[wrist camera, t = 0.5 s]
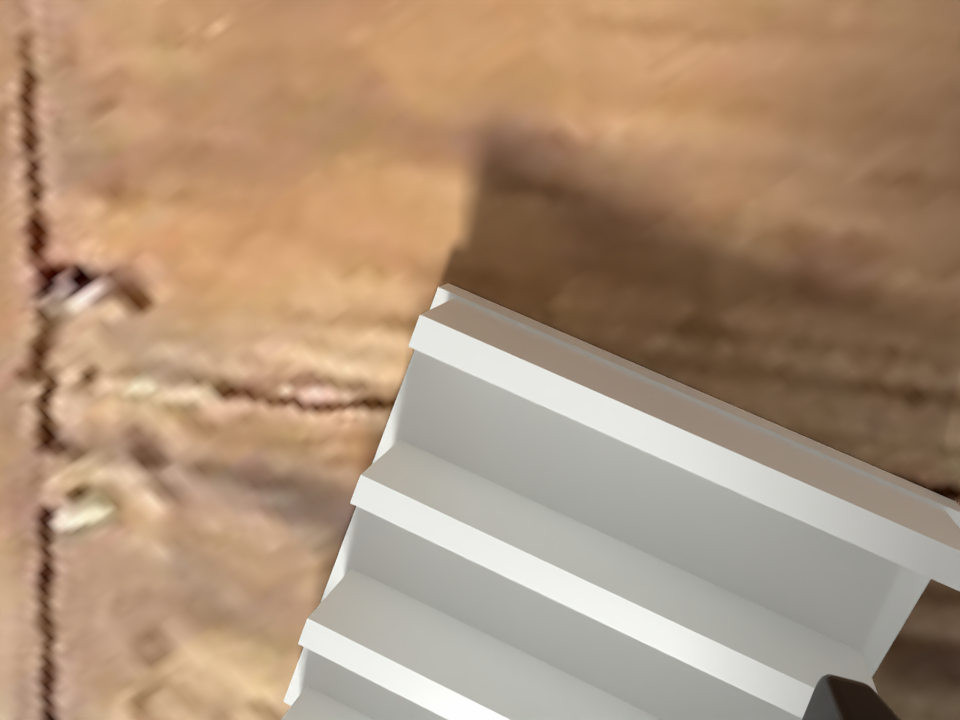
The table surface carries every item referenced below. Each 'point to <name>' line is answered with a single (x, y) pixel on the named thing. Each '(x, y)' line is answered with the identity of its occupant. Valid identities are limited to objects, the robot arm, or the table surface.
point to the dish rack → (603, 546)
